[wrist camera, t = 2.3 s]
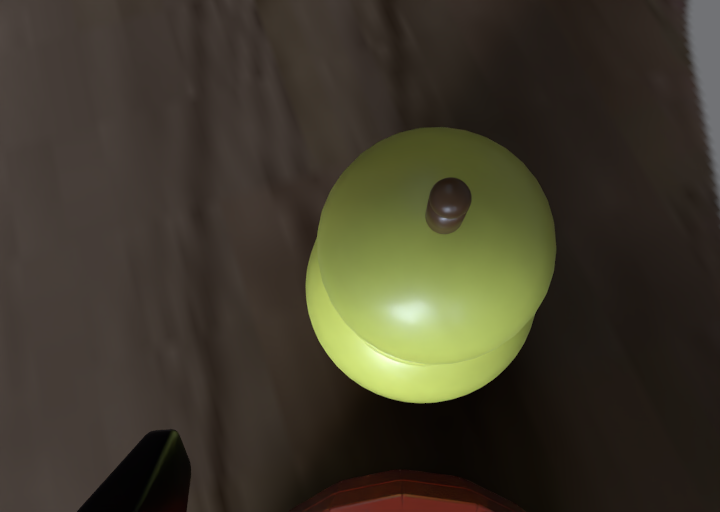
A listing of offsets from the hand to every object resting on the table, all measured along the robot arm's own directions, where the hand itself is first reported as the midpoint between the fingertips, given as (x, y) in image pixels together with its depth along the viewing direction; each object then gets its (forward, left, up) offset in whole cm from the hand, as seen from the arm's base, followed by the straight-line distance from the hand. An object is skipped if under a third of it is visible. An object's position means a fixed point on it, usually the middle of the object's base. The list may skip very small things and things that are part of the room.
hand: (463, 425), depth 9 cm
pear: (+3, -1, -11) cm, 11 cm away
